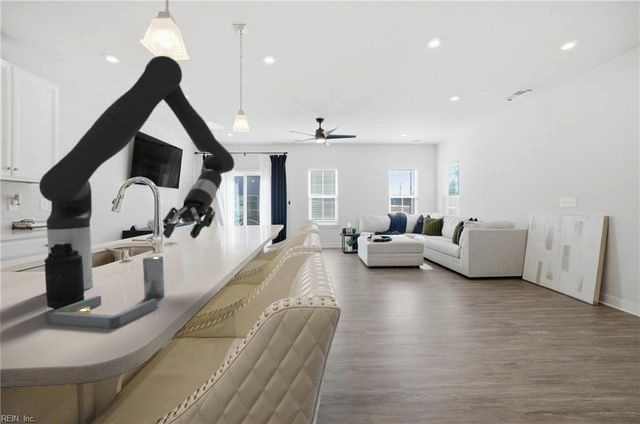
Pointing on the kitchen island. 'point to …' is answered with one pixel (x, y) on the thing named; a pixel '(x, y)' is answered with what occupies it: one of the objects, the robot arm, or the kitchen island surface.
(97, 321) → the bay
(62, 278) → the black shouldered canister
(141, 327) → the kitchen island surface
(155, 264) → the post
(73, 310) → the washer
